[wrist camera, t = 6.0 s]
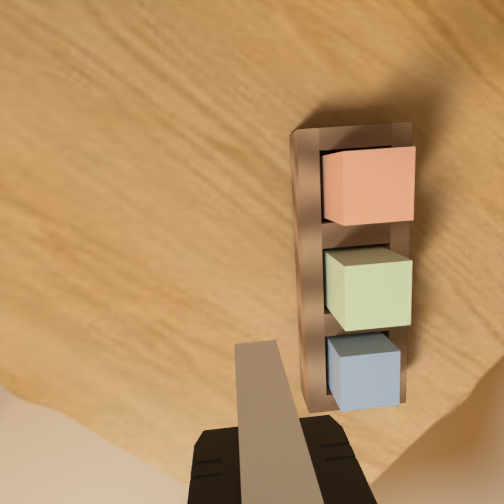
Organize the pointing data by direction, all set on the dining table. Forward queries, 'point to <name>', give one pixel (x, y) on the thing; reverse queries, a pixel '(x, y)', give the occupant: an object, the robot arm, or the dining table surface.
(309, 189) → the wooden cube holder tray
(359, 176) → the salmon pink cube
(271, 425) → the robot arm
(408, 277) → the pastel lime cube
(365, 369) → the pale blue-grey cube
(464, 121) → the dining table surface
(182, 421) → the dining table surface
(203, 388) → the dining table surface
